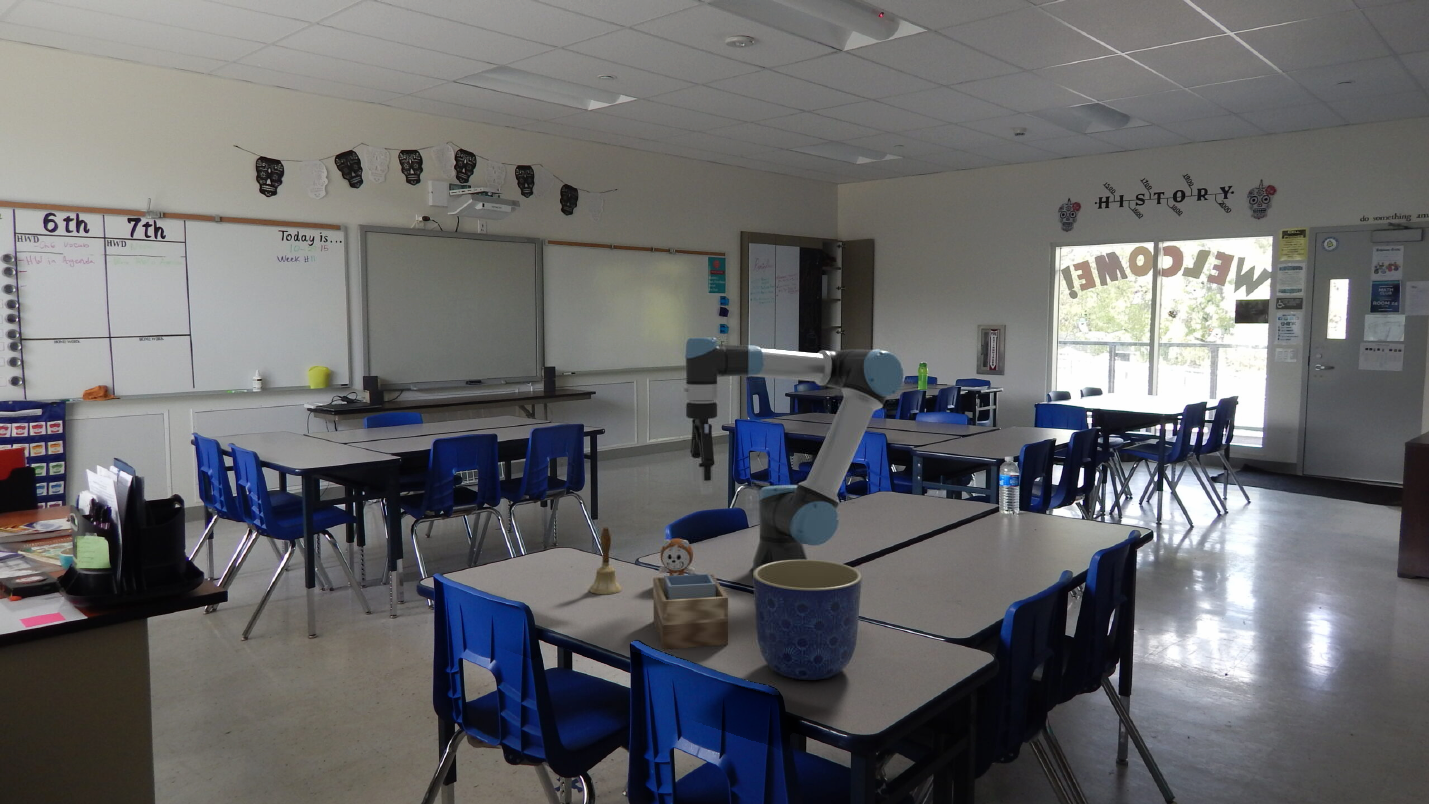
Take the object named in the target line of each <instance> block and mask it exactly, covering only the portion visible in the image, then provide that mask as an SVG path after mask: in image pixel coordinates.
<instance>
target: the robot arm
mask: <svg viewBox="0 0 1429 804" xmlns="http://www.w3.org/2000/svg"><path fill="white" fill-rule="evenodd" d="M685 344H686V345H685V357H684V358H685V374H686V375H685V384H686V385H685V386H686V387H685V388H683V392H685V394H686V395H685V396H686V397H685V398H686V400H687V401H688V402H686V403H685V416H686V418H687V419H692V420H691V423H692V425H691V426H692V427H691V429H692V430H691V439H690V440H691V442H690V450H689V454H690V455H691V484H692V485H700V495H713V493H714V492H713V490H714V488H713V487H714V486H713V485H714V484H713V483H714V482H713V481H714V480H713V479H714V478H713V473H714V472H713V468H714V467H713V466H714V465H715V455H714V443H713V430H712V429H713V425H712V424H711V423H710V422H709V420H710V419H715V418H717V417H718V403H717V402H716V401H717V400H718V377H742V376H743V377H760V378H772V379H783V380H784V379H785V380H797V381H809V382H815V384H816V385H818V386H825V387H831V388H834V389H835V388H836V389H839V390H841V392H842V395H843V398H842V401H841V403H840V405H839V406H838V407H839V408H838V409H837V412H836V414H835V416H834V418H833V421H832V423H831V425H830V427H829V430H828V432H827V434H826V437H825V439H824V441H823V443H822V445H821V448H820V449H819V451H818V454H817V456H816V458H815V460H814V462H813V465H812V467H811V469H810V472H809V474H808V475H807V478H806V479H805V480H804V481H801V482H799V483H798V484H783V485H782V484H781V485H769V486H764V487H762V488H761V489H760V491H759V498H758V503H759V507H758V508H759V511H758V512H759V513H758V514H759V516H758V517H759V518H758V519H759V521H758V522H759V527H758V529H759V541H758V545H757V548H756V551H755V554H754V557H753V560H752V570H753V572H754V571H755V569H757V568H758V567H760V566H762V565H765V564H768V563H772V562H777V561H785V560H809V559H808V555H807V553H806V549H805V546H804V545H807V546H813V547H814V546H815V547H816V546H821V545H823V544H825V543H827V542H829V541H830V540H831V539H832V538H833V537H834V535H835V534H836V532H837V530H838V527H839V523H840V522H839V520H840V518H839V514H838V511H837V509H838V507H839V505H840V500H839V497H838V493H839V490H840V488H841V486H842V484H843V481H844V479H845V478H846V475H847V472H848V470H849V468H850V466H851V464H852V462H853V459H854V457H855V455H856V452H857V450H858V448H859V445H860V444H861V442H862V439H863V437H864V435H865V433H866V430H867V428H868V427H869V424H870V421H871V420H872V416H873V414H874V412H875V411H877V410H880V409H881V408H883V406H884V405H885V402H886V400H887V398H888V397H891V396H892V395H894V394H896V393H897V392H899V390H900V389H901V387H902V384H903V381H904V370H903V367H902V364H901V362H900V359H899V358H898V357H897V356H896V355H895V354H894V353H892V352H889V351H887V350H882V349H878V348H877V349H860V348H859V349H857V348H856V349H855V348H853V349H844V350H825V349H822V350H820V351H818V352H817V353H816V352H805V351H795V350H784V349H774V348H772V349H771V348H762V347H760V346H758V345H756V344H755V345H752V344H751V345H750V344H739V345H738V344H720V343H719V344H718V339H717V338H715V337H690V338H688V339H687V340H686V343H685Z"/></svg>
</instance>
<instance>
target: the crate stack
mask: <svg viewBox="0 0 1429 804" xmlns="http://www.w3.org/2000/svg"><path fill="white" fill-rule="evenodd" d="M710 576H711V577H712V579H713V581H714V582H715V584H716V597H710V598H693V599H675V600H666V598H665V596H664V576H659V577H657V576H656V577H653V578H652V581H653V584H652V585H653V586H652V587H653V591H652V592H653V593H652V594H653V599H652V600H653V603H652V604H653V623H654V626H655V629H656V633H657V635H658V638H659V640H660V641H659V642H660V644H661V646H662V649H663V650H665V649H666V650H670V649H683V648H685V649H686V648H697V647H699V648H700V647H714V646H727V645H729V597H728V595H727V594H726V592H725V591H724V589H723V587H722V586H721V585H720V582H719V581H718V580H717V578H716V577H715V575H714V574H710Z"/></svg>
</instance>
